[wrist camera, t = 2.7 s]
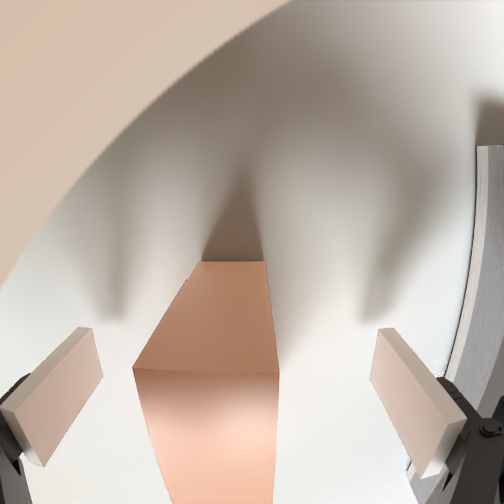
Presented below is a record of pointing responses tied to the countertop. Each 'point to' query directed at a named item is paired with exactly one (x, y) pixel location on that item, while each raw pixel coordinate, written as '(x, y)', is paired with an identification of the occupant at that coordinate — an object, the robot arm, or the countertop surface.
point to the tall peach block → (214, 387)
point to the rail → (479, 312)
